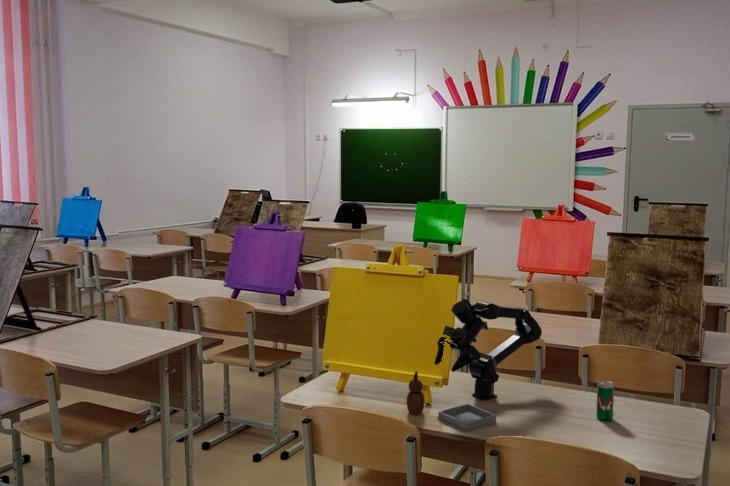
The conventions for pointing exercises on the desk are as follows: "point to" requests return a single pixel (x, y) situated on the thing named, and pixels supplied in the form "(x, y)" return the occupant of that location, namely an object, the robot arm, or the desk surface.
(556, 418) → the desk surface
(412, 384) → the wooden figurine
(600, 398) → the soda can
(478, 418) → the tray
